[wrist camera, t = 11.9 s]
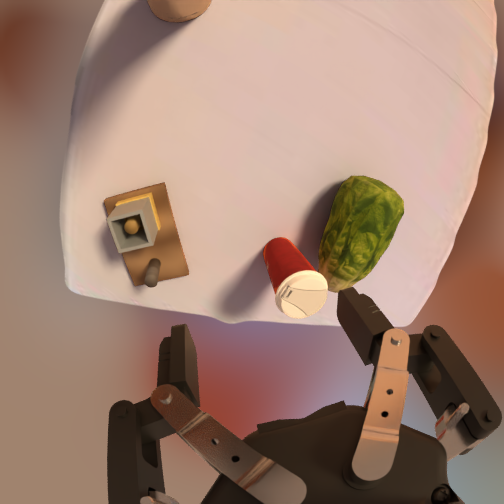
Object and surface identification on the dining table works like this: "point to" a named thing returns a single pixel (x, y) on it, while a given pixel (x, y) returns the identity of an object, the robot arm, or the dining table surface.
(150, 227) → the sleeve
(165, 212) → the pin board
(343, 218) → the lettuce
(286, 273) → the paper cup
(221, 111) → the dining table surface
